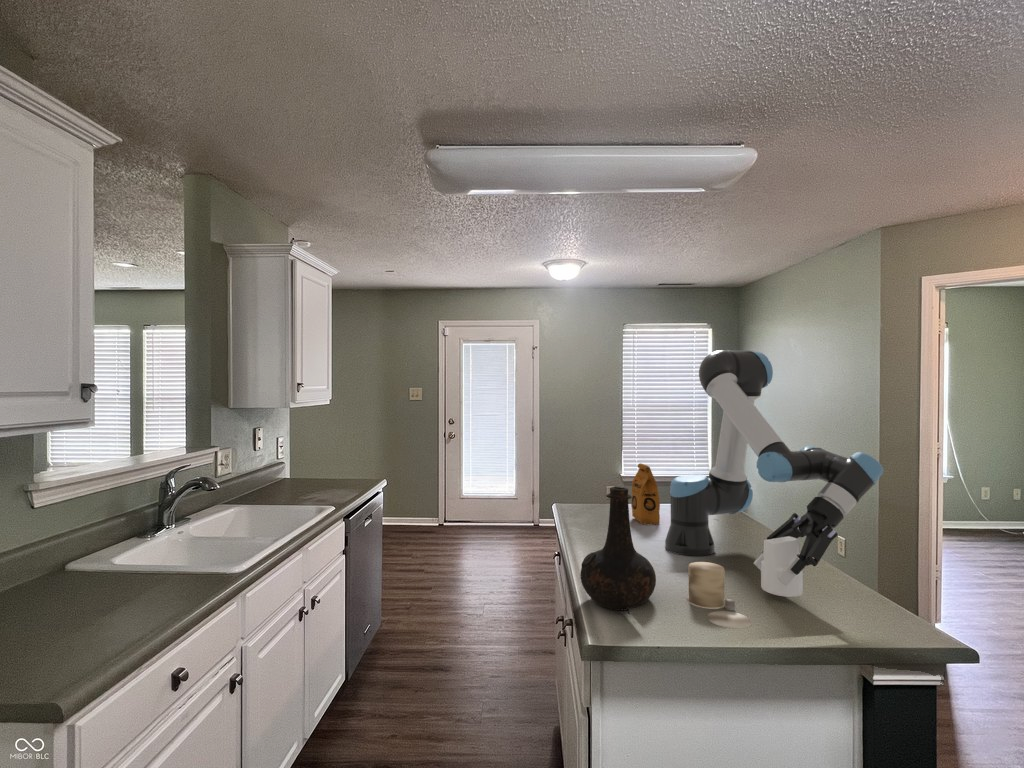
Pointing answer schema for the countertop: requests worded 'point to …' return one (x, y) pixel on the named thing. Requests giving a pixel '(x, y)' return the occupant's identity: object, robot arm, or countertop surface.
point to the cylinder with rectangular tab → (780, 566)
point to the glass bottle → (618, 562)
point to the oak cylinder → (706, 584)
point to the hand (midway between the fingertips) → (769, 574)
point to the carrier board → (727, 616)
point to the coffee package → (645, 497)
